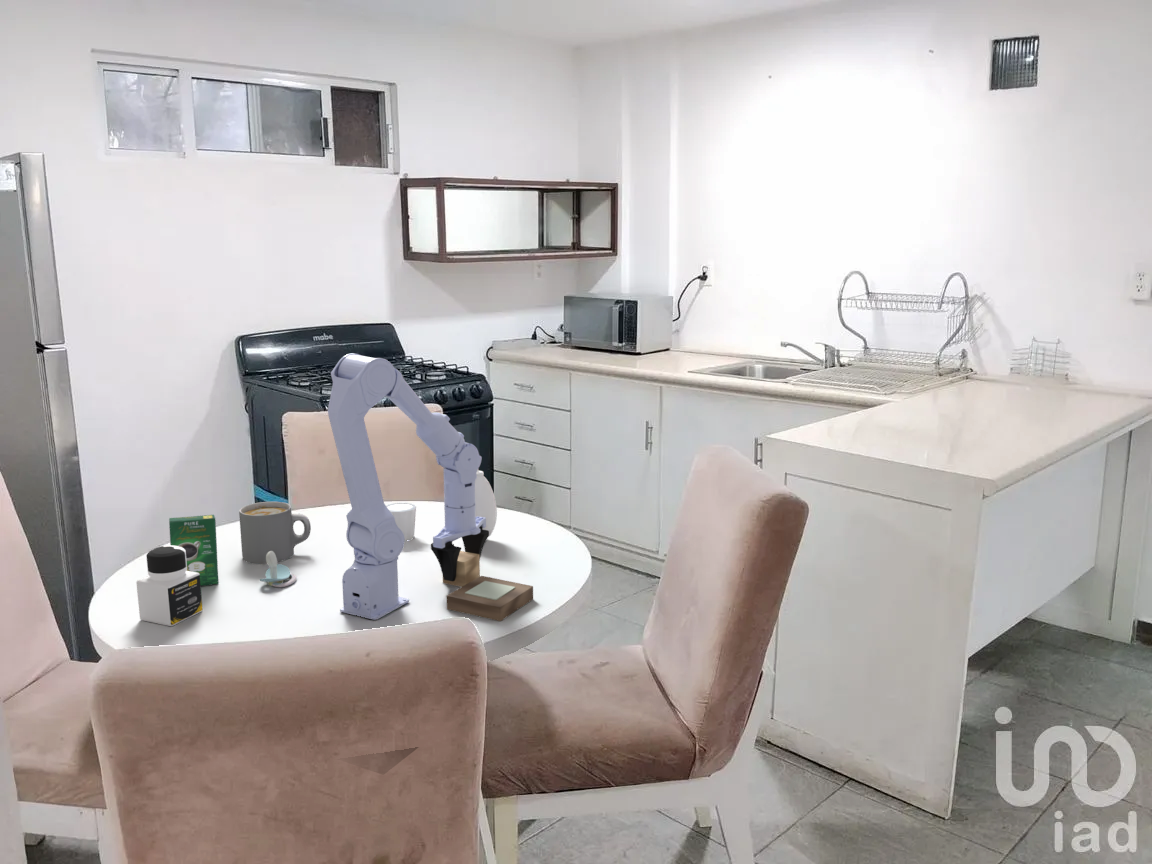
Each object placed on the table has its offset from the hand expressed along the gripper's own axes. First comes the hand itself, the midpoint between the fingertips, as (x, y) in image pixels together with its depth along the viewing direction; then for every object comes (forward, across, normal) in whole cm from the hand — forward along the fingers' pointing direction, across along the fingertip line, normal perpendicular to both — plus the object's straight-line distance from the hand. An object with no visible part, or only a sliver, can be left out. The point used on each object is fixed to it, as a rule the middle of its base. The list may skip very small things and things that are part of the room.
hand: (461, 573), depth 171 cm
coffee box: (+2, -25, +42) cm, 49 cm away
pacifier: (+2, -17, +30) cm, 34 cm away
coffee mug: (+2, -6, +41) cm, 41 cm away
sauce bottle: (+2, +21, +10) cm, 23 cm away
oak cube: (+2, 0, 0) cm, 2 cm away
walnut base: (+1, -7, -11) cm, 13 cm away
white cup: (+2, +15, +26) cm, 30 cm away
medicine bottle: (+2, -37, +34) cm, 50 cm away
